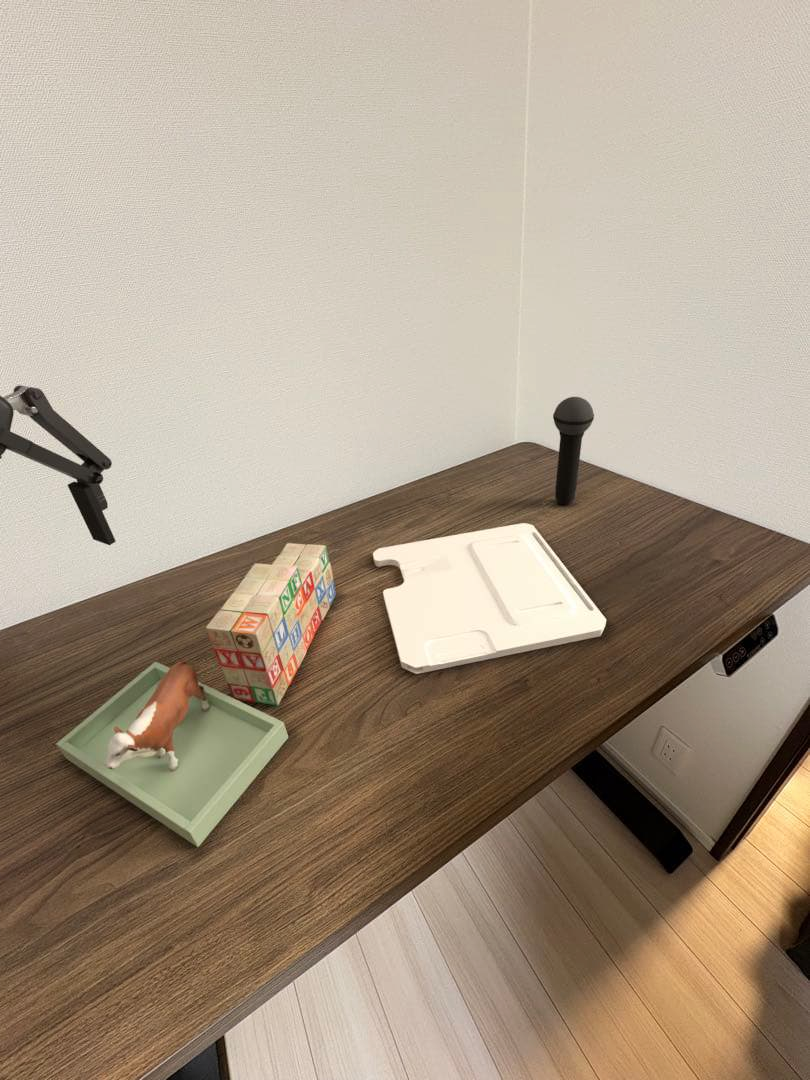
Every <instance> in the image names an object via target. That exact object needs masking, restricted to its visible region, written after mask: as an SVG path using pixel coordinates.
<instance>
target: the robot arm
mask: <svg viewBox="0 0 810 1080" xmlns="http://www.w3.org/2000/svg"><path fill="white" fill-rule="evenodd" d="M15 411H17V413H19V414H20V415H23V416H27V417H29V418H30V419H31V420H32V421H34V423H36V424H37V425H39V426H40V427H41V428H42V429H44V430H45V431H46V433H48V434H49V435H51V436H52V437H53V438H54V439H55V440H57V441H58V442H59V443H61V444H62V445H63V446H64V447H66V448H67V449H68V450H69V451H70V452H71V453H73V454H74V455H75V456H76V457H77V458H78V459H80V460H81V461H82V463H81V464H80V463H78V462H75V461H73V460H71V459H69V458H67V457H64V456H63V455H60V454H59V453H56V452H54V451H51V450H50V449H48V448H45V447H43V446H41V445H39V444H37V443H34V442H33V441H32V440H30V439H28V438H26V437H23V436H21V435H20V434H17V433H15V432H13V431H11V429H12V424H13V419H14V412H15ZM6 450H7V451H10V452H12V453H15V454H18V455H20V456H22V457H24V458H27V459H29V460H30V461H33V462H36V463H38V464H41V465H42V466H45V467H47V468H49V469H52V470H54V471H56V472H59V473H61V474H63V475H65V476H68V477H70V478H73V479H74V480H76V481H72V482H70V483H68V484H67V488H68V489H69V491H70V494H71V495H72V498H73V501H74V502H75V504H76V506H77V508H78V511H79V513H80V516H81V517H82V519H83V521H84V523H85V525H86V527H87V529H88V532H89V533H90V536H91V538H92V540H93V541H97V542H99V543H102V544H104V545H108V546H111V545H113V544H114V543H117V542H116V537H115V536H114V533H113V531H112V530H111V527H110V525H109V523H108V521H107V518H106V516H105V514H104V512H103V511H105V510H107V509H108V507H109V506H108V501H107V499H106V496H105V493H104V492H103V490H102V487H101V484H102V483H103V481H104V475H103V474H102V473H103V472H104V471H105V470H109V469H111V468H112V464H113V462H112V460H111V459H110V458H109V457H108V455H106V454H105V453H104V452H103V451H101V449H99V448H98V447H97V446H96V445H95V444H93V442H91V441H90V440H89V439H88V438H86V437H85V436H84V435H83V434H82V433H81V432H80V431H78V430H77V429H76V428H75V427H74V426H73V425H72V424H70V423H69V422H68V421H67V420H66V419H65V418H63V416H61V415H60V414H59V413H58V412H57V411H56V410H54V408H53V407H52V404H51V403H50V402H49V400H48V398H47V396H46V395H45V393H44V391H43V390H42V389H40V388H38V387H32V386H29V385H22V384H21V385H20V384H19V385H16V386H15V387H14V388H13V392H12V393H10V394H9V393H8V394H7V395H5V396H2V395H0V460H1V459H3V454H4V453H5V452H6Z"/></svg>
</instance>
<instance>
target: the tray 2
mask: <svg viewBox="0 0 810 1080" xmlns="http://www.w3.org/2000/svg"><path fill="white" fill-rule="evenodd" d="M372 558H373V563H374V565H375V567H377V568H380V567H385V566H393V567H394V566H395V567H397V568H398V569H399V571H400V573H401V577H402V580H403V583H401V584H400V585H398V586H394V587H390V588H385V589H384V590H383V592H382V595H383V601H384V605H385V608H386V613H387V616H388V620H389V625H390V629H391V632H392V636H393V640H394V643H395V647H396V649H397V650H396V651H397V655H398V658H399V662H400V665H401V668H402V669H404V670H406V671H408V672H411V673H412V674H415V675H417V674H419V675H420V674H424V673H429V672H433V671H438V670H443V669H449V668H452V667H456V666H463V665H467V664H472V663H476V662H477V663H478V662H481V661H486V660H493V659H497V658H501V657H506V656H511V655H516V654H521V653H525V652H530V651H536V650H539V649H546V648H550V647H555V646H560V645H563V644H569V643H574V642H579V641H583V640H589V639H593V638H599V637H601V636H602V634H603V632H604V630H605V628H606V624H607V618H606V617H605V616H604V615H603V613H602V612H601V611H600V609H599V608H598V607H597V605H596V604H595V603H594V602H593V600H592V599H591V598H590V596H589V595H588V594H587V593H586V591H585V590H584V589H583V587H582V586H581V584H579V582H578V581H577V580H576V578H575V577H574V576H573V575H572V573H571V572H570V571H569V570H568V568H567V567H566V566H565V564H564V563H563V562H562V561H561V559H560V558H559V556H558V555H557V554H556V553H555V551H554V550H553V549H552V547H551V546H550V545H549V544H548V543H547V541H546V540H545V539H544V537H543V536H542V534H541V533H540V532H539V531H538V529H537V528H536V527H535V526H534V525H533V524H530V523H527V522H520V523H516V524H515V523H514V524H509V525H504V526H498V527H493V528H486V529H481V530H475V531H470V532H464V533H457V534H453V535H446V536H441V537H435V538H430V539H429V538H428V539H423V540H417V541H413V542H407V543H401V544H395V545H390V546H383V547H379V548H377V549H376V550H375V551H374V552H372Z"/></svg>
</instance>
